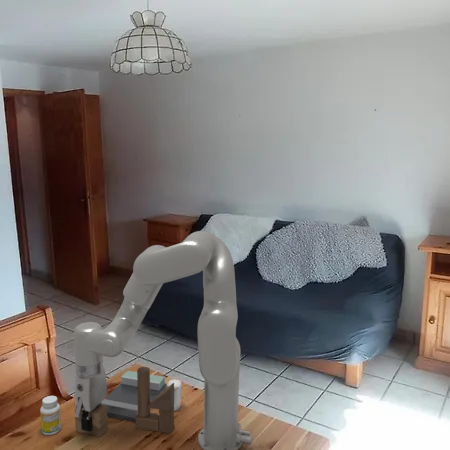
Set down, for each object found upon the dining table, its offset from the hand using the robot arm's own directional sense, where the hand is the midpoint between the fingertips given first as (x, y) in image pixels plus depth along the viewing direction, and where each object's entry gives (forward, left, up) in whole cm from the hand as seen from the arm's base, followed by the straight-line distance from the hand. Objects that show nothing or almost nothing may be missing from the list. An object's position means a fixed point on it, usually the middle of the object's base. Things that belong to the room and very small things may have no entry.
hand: (91, 424), depth 133 cm
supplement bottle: (+11, +4, -2) cm, 12 cm away
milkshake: (-19, -17, -2) cm, 26 cm away
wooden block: (-17, -6, -2) cm, 18 cm away
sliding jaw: (-4, -25, 0) cm, 26 cm away
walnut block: (0, 0, -2) cm, 2 cm away
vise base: (-4, -18, -2) cm, 18 cm away
